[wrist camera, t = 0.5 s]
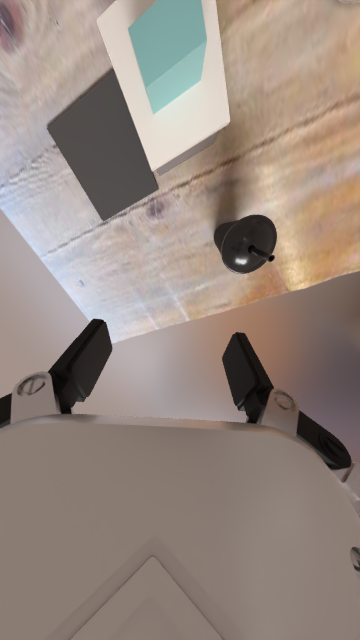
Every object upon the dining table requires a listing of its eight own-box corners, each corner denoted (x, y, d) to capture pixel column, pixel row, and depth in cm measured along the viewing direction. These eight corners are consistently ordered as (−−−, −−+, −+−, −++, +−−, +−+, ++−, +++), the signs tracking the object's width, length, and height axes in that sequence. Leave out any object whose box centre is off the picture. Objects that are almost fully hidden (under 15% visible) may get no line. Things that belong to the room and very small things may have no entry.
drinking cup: (200, 232, 31) (223, 251, 15) (233, 205, 28) (303, 191, 12) (217, 261, 34) (250, 301, 18) (248, 239, 32) (317, 264, 16)
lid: (201, -55, 13) (216, -235, 8) (226, 128, 19) (243, 95, 14) (103, 38, 15) (65, -49, 10) (153, 173, 21) (145, 160, 16)
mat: (114, 71, 20) (113, 69, 19) (158, 189, 27) (158, 188, 26) (48, 129, 23) (46, 128, 22) (103, 221, 30) (103, 221, 29)
